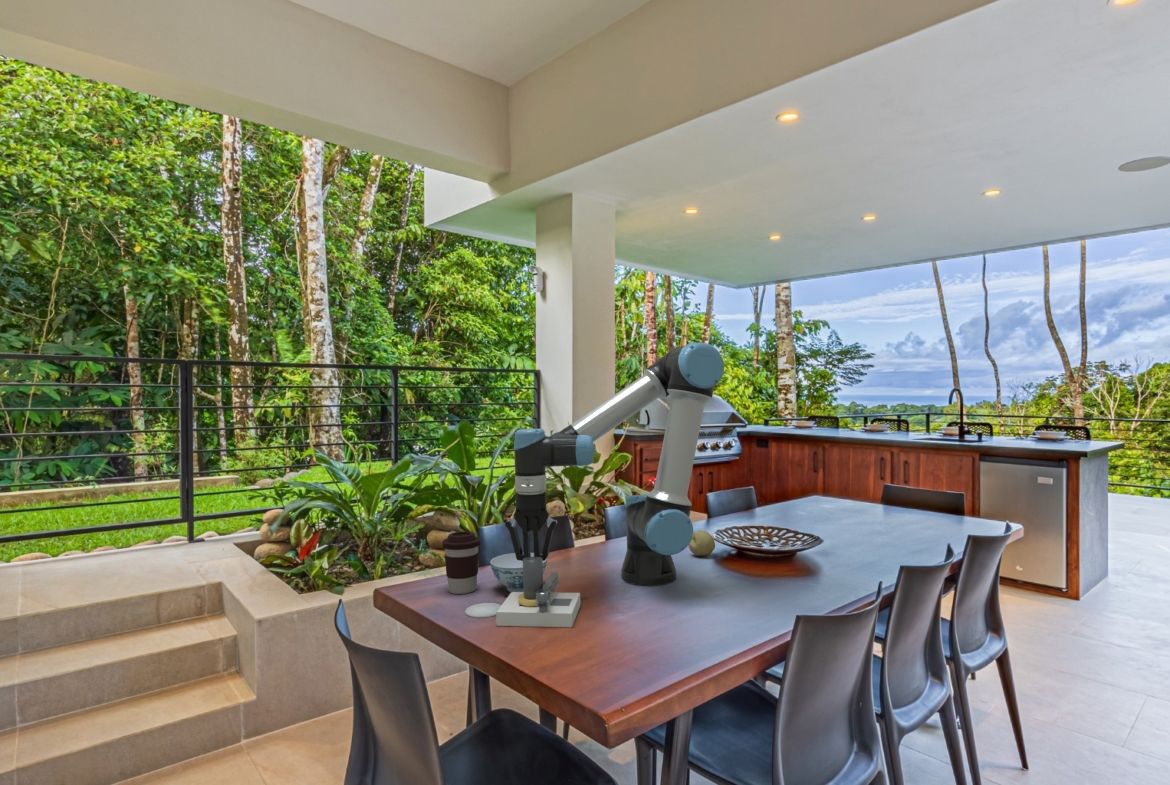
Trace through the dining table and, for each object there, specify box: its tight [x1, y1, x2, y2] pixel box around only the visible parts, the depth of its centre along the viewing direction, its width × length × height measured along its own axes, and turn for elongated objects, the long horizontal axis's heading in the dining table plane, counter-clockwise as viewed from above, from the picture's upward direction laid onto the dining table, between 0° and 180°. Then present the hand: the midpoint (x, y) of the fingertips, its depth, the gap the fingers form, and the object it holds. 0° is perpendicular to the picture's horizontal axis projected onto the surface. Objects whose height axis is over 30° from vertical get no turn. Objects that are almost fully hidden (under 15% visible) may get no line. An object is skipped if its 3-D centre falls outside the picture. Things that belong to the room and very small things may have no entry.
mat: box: [464, 602, 502, 619], centre depth 143 cm, size 9×9×1 cm
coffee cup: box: [441, 530, 481, 595], centre depth 159 cm, size 10×10×15 cm
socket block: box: [495, 592, 581, 628], centre depth 139 cm, size 17×14×4 cm
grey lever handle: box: [536, 571, 559, 606], centre depth 140 cm, size 17×3×2 cm, turn 173°
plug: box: [518, 556, 544, 606], centre depth 140 cm, size 7×7×13 cm
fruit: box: [687, 530, 716, 557], centre depth 187 cm, size 8×8×8 cm
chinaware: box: [489, 552, 548, 593], centre depth 159 cm, size 15×15×8 cm
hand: (533, 588), depth 146 cm, fingers closed
